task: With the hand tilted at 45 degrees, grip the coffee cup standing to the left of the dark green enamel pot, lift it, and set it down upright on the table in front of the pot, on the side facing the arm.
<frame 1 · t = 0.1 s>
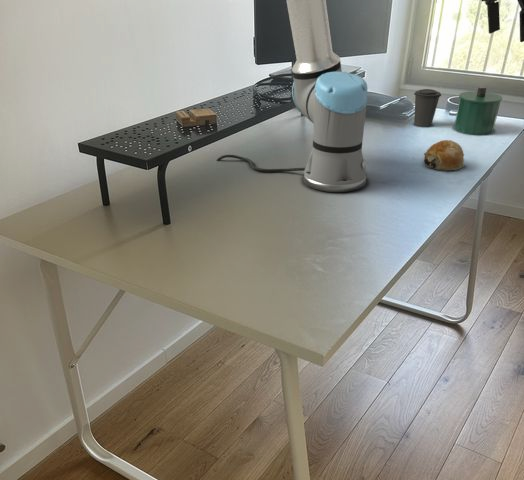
hand: (509, 35, 139), 28 cm above the table, tool tilted 20°, fingers open, 13 cm apart
pot: (473, 129, 170), on the table
pot lid: (480, 98, 165), point 9 cm above the table, touching pot
coffee cup: (422, 125, 175), on the table
bread roll: (442, 166, 145), on the table
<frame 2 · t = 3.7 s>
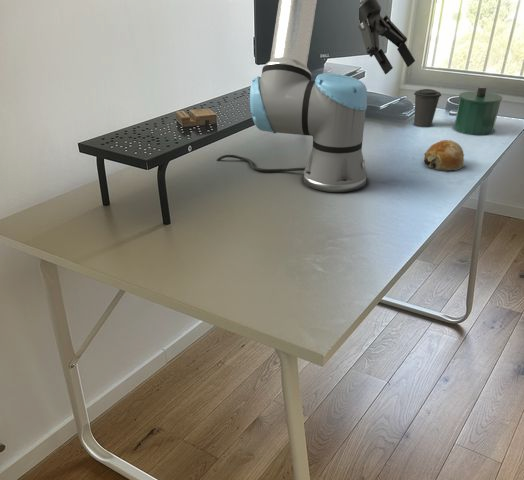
hand: (400, 67, 171), 15 cm above the table, tool tilted 45°, fingers open, 13 cm apart
nothing on the table moved.
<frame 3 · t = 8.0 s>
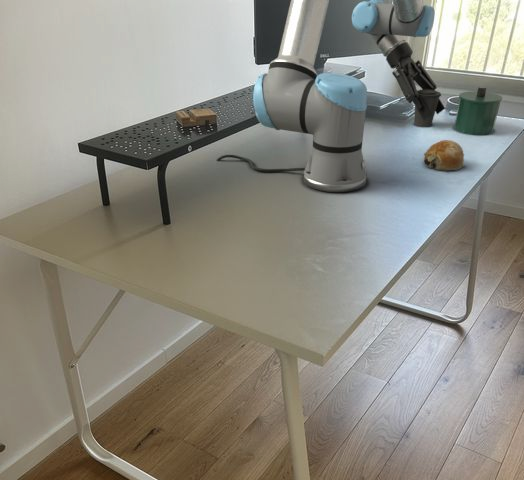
hand: (434, 114, 171), 4 cm above the table, tool tilted 45°, fingers closed on coffee cup, 8 cm apart
coffee cup: (422, 125, 175), on the table, touching gripper
everything else where it was.
when the fingers open (4 cm above the table, at t = 16.7 s): coffee cup stays where it is, on the table.
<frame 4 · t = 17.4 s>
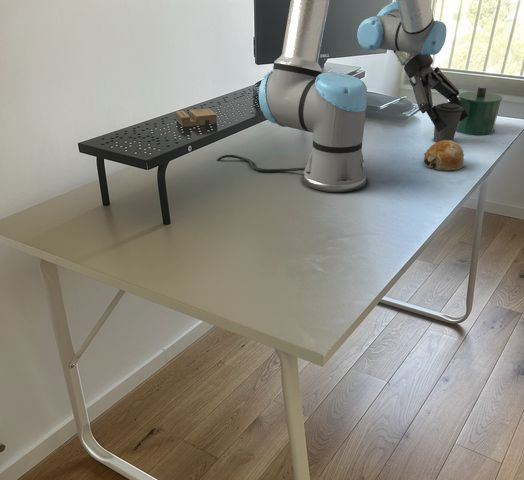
hand: (453, 123, 157), 5 cm above the table, tool tilted 45°, fingers open, 13 cm apart
coffee cup: (442, 141, 161), on the table
everything else where it was.
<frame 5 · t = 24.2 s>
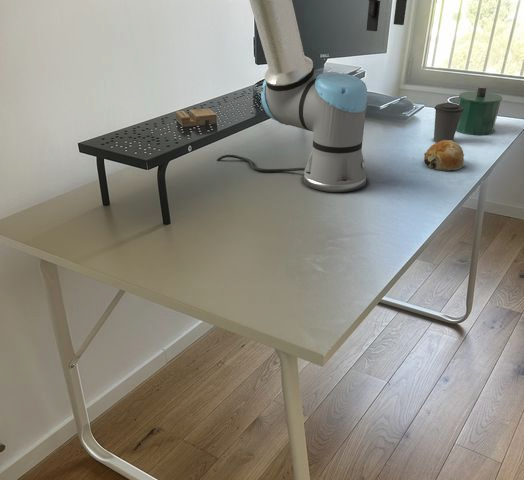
hand: (385, 27, 145), 29 cm above the table, tool pointing down, fingers open, 13 cm apart
nothing on the table moved.
at the end: coffee cup inside the target area on the table beside the pot (0.5 cm from its centre), on the table; coffee cup tilted 0°; the gripper is holding nothing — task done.
